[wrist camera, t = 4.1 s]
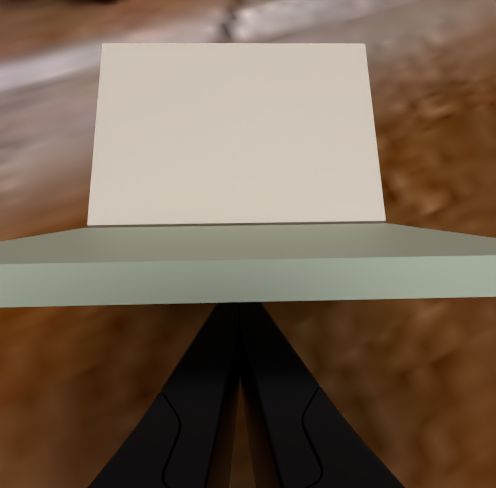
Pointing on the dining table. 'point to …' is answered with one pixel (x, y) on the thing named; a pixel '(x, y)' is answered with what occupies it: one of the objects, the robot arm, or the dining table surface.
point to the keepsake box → (234, 136)
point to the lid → (244, 265)
